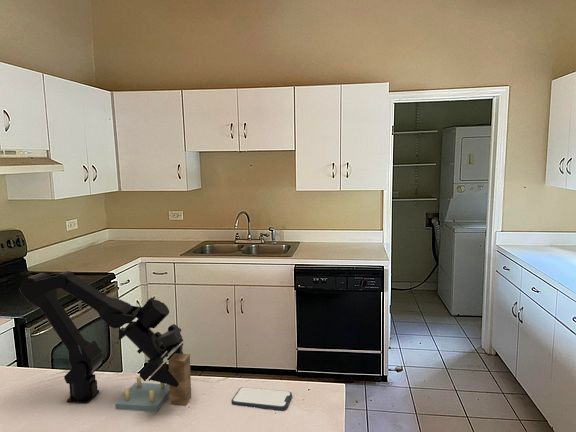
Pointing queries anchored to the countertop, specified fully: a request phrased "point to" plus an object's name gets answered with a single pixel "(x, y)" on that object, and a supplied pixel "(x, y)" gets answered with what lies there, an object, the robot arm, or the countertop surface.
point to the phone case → (262, 398)
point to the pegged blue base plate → (144, 396)
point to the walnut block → (180, 379)
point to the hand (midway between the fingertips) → (183, 377)
